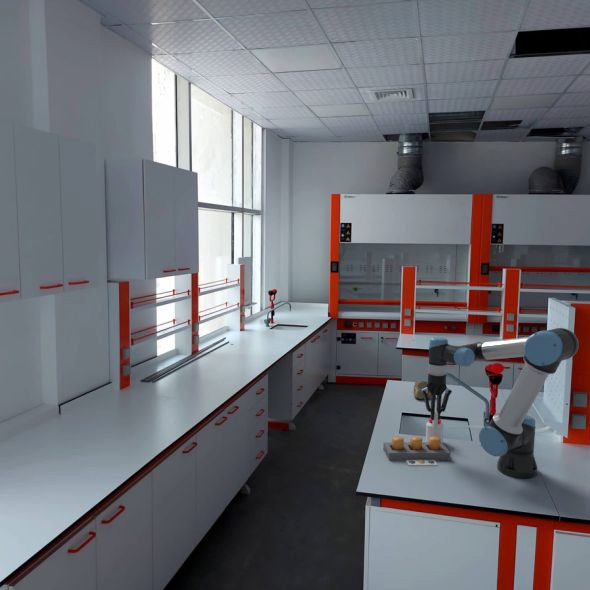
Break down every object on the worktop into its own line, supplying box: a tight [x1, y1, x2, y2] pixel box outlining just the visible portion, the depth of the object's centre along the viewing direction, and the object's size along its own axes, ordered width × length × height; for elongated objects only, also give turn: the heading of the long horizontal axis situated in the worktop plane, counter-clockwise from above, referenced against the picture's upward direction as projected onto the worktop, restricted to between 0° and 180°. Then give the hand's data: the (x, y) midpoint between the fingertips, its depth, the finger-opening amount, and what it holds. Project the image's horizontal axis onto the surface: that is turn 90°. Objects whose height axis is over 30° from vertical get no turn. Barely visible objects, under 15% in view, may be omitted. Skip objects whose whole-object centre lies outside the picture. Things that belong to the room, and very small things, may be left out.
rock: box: [412, 380, 431, 400], centre depth 325 cm, size 11×12×10 cm
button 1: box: [391, 436, 405, 450], centre depth 240 cm, size 5×5×4 cm
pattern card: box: [405, 460, 438, 467], centre depth 231 cm, size 12×5×1 cm, turn 92°
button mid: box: [409, 436, 423, 450], centre depth 240 cm, size 5×5×4 cm
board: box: [383, 441, 451, 461], centre depth 240 cm, size 26×12×3 cm, turn 92°
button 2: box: [428, 437, 441, 450], centre depth 240 cm, size 5×5×4 cm
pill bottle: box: [425, 417, 445, 444], centre depth 254 cm, size 8×8×11 cm
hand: (434, 427), depth 240 cm, fingers closed
